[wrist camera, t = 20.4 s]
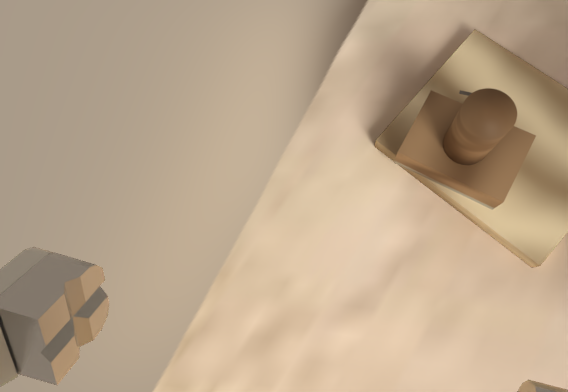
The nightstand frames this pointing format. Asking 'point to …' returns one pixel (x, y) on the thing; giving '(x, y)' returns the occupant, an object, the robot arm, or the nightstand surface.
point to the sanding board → (530, 117)
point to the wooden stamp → (468, 145)
